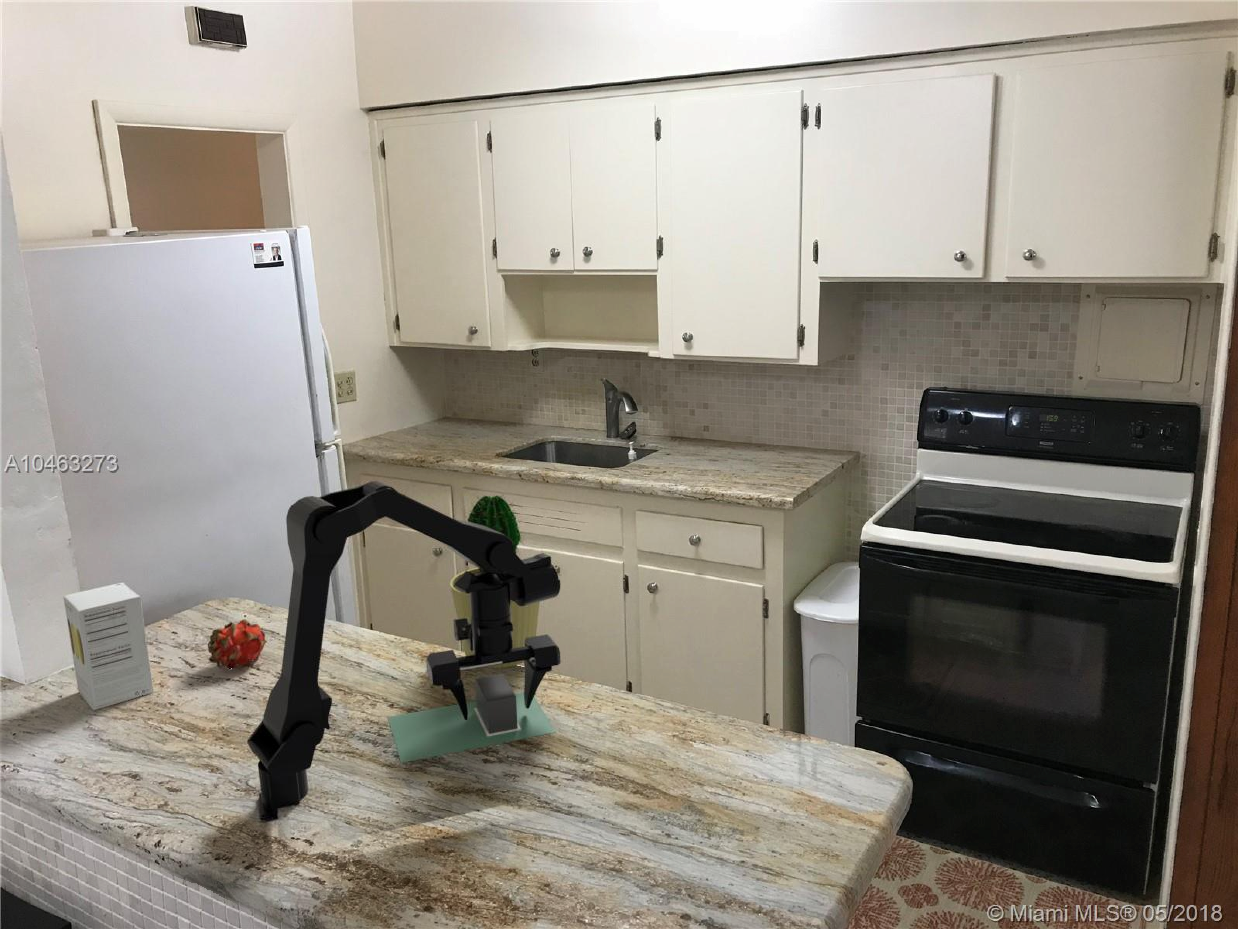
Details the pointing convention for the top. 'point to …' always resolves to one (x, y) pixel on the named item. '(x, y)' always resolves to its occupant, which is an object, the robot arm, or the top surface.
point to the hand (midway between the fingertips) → (496, 713)
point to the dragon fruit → (236, 644)
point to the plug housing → (496, 703)
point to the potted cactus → (523, 618)
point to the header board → (460, 730)
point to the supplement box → (108, 645)
